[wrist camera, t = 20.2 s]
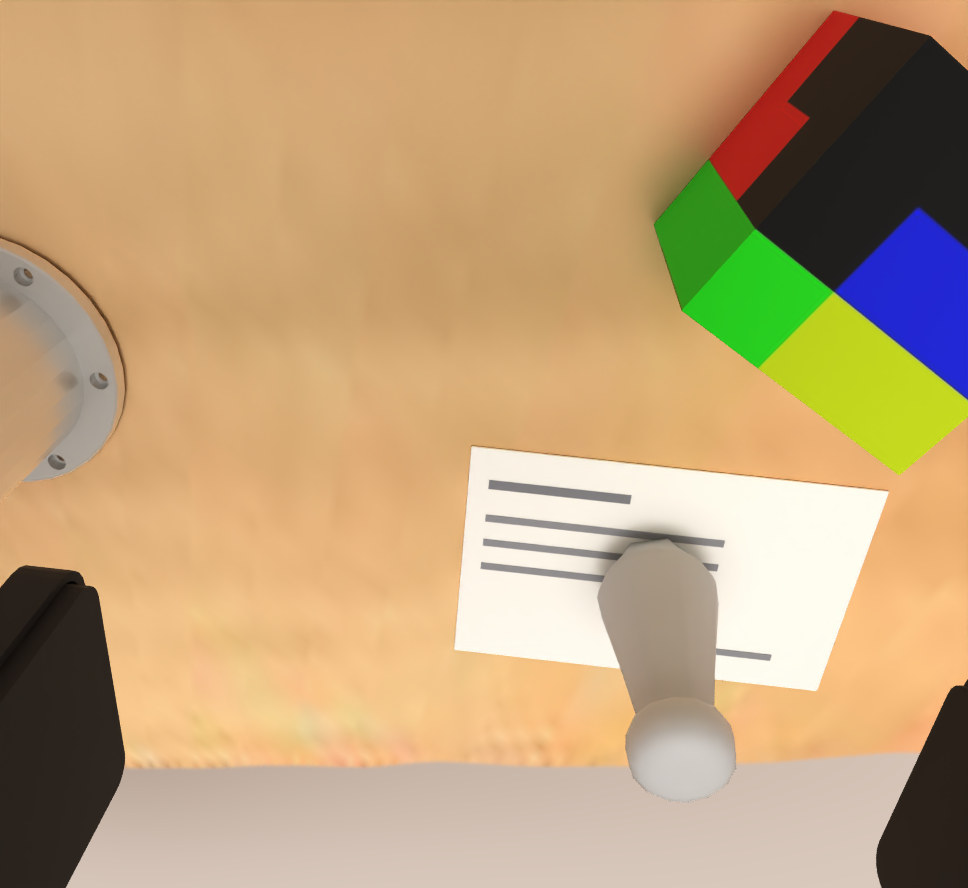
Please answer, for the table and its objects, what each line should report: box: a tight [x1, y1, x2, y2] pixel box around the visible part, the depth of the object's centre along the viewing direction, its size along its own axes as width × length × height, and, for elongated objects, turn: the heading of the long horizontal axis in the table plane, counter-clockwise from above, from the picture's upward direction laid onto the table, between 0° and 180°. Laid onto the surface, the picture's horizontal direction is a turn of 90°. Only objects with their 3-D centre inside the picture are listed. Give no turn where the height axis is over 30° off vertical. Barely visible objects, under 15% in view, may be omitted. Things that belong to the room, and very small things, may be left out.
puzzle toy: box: [654, 11, 968, 475], centre depth 32 cm, size 10×10×10 cm
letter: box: [454, 446, 889, 691], centre depth 46 cm, size 20×13×1 cm, turn 85°
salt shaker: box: [597, 538, 736, 802], centre depth 40 cm, size 6×6×13 cm
